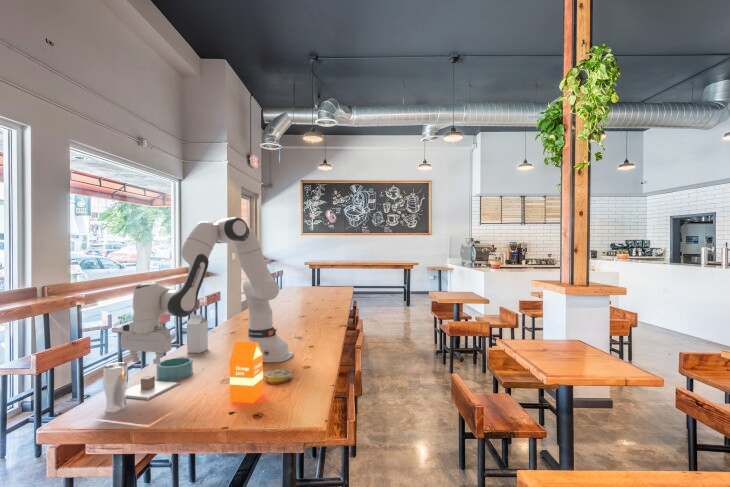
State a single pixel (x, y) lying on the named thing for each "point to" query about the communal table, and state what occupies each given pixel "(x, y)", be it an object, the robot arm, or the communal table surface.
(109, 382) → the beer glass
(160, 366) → the bowl
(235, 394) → the orange juice
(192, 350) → the milk carton
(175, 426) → the communal table surface
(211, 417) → the communal table surface
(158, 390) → the lid
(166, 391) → the mat
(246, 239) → the robot arm
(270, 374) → the decorated donut
